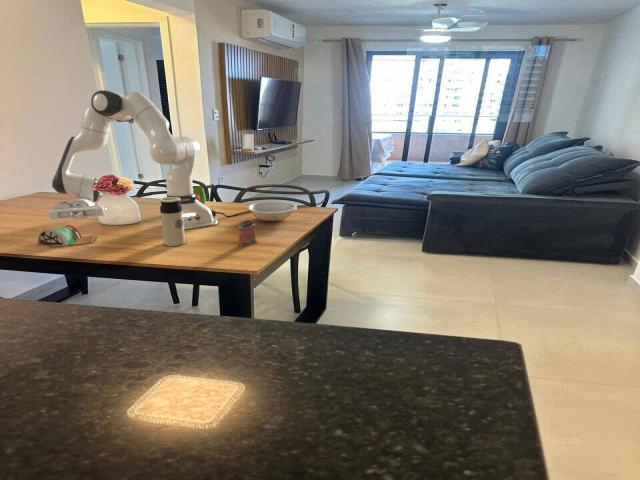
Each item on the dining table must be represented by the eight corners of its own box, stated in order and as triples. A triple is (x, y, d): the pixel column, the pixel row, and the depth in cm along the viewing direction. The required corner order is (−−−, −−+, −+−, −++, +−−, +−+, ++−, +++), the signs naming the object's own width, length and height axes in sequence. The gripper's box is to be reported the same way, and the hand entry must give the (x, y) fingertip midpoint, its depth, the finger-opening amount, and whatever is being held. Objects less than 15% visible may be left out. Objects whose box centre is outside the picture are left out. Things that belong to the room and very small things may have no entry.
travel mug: (160, 243, 151) (155, 198, 146) (179, 238, 157) (174, 195, 151) (170, 247, 146) (165, 202, 141) (189, 243, 152) (185, 199, 146)
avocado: (206, 208, 204) (205, 186, 200) (191, 209, 202) (189, 187, 198) (206, 205, 212) (204, 184, 208) (191, 206, 209) (189, 184, 206)
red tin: (252, 240, 157) (251, 216, 154) (257, 242, 155) (257, 218, 152) (236, 245, 151) (235, 220, 148) (242, 247, 149) (241, 222, 146)
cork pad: (95, 236, 157) (95, 235, 157) (92, 243, 150) (92, 242, 149) (55, 240, 152) (55, 239, 152) (50, 247, 144) (50, 246, 144)
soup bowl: (282, 211, 203) (282, 199, 200) (305, 222, 184) (305, 209, 181) (240, 217, 190) (239, 204, 188) (260, 229, 171) (259, 215, 169)
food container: (81, 223, 152) (61, 230, 143) (84, 238, 154) (64, 246, 145) (55, 221, 154) (33, 228, 145) (58, 235, 156) (36, 243, 147)
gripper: (107, 213, 175) (104, 221, 163) (55, 217, 167) (47, 226, 155) (105, 200, 173) (102, 207, 161) (52, 203, 165) (44, 211, 153)
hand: (75, 216), depth 158 cm, fingers closed
